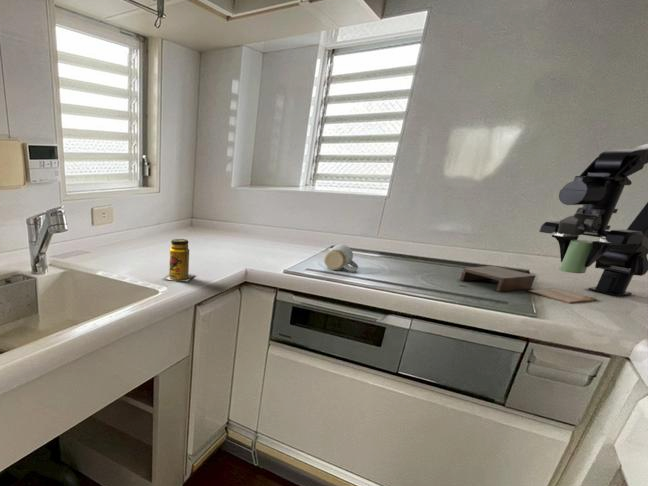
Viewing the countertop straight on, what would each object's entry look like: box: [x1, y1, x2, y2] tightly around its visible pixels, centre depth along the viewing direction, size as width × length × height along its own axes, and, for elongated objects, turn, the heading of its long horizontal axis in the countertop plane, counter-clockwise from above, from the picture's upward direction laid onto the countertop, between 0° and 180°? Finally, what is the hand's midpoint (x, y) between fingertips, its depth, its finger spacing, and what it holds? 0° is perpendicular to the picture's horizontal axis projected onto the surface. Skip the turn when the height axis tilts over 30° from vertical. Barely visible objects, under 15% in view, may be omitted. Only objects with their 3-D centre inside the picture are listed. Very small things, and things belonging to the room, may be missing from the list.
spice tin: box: [558, 239, 593, 274], centre depth 107 cm, size 5×5×8 cm
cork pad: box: [527, 287, 598, 304], centre depth 111 cm, size 10×10×1 cm
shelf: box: [459, 265, 536, 293], centre depth 120 cm, size 12×12×4 cm
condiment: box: [165, 238, 195, 282], centre depth 125 cm, size 7×8×12 cm
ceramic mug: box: [323, 244, 360, 273], centre depth 136 cm, size 11×8×8 cm
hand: (574, 264), depth 108 cm, fingers closed on spice tin, 5 cm apart
